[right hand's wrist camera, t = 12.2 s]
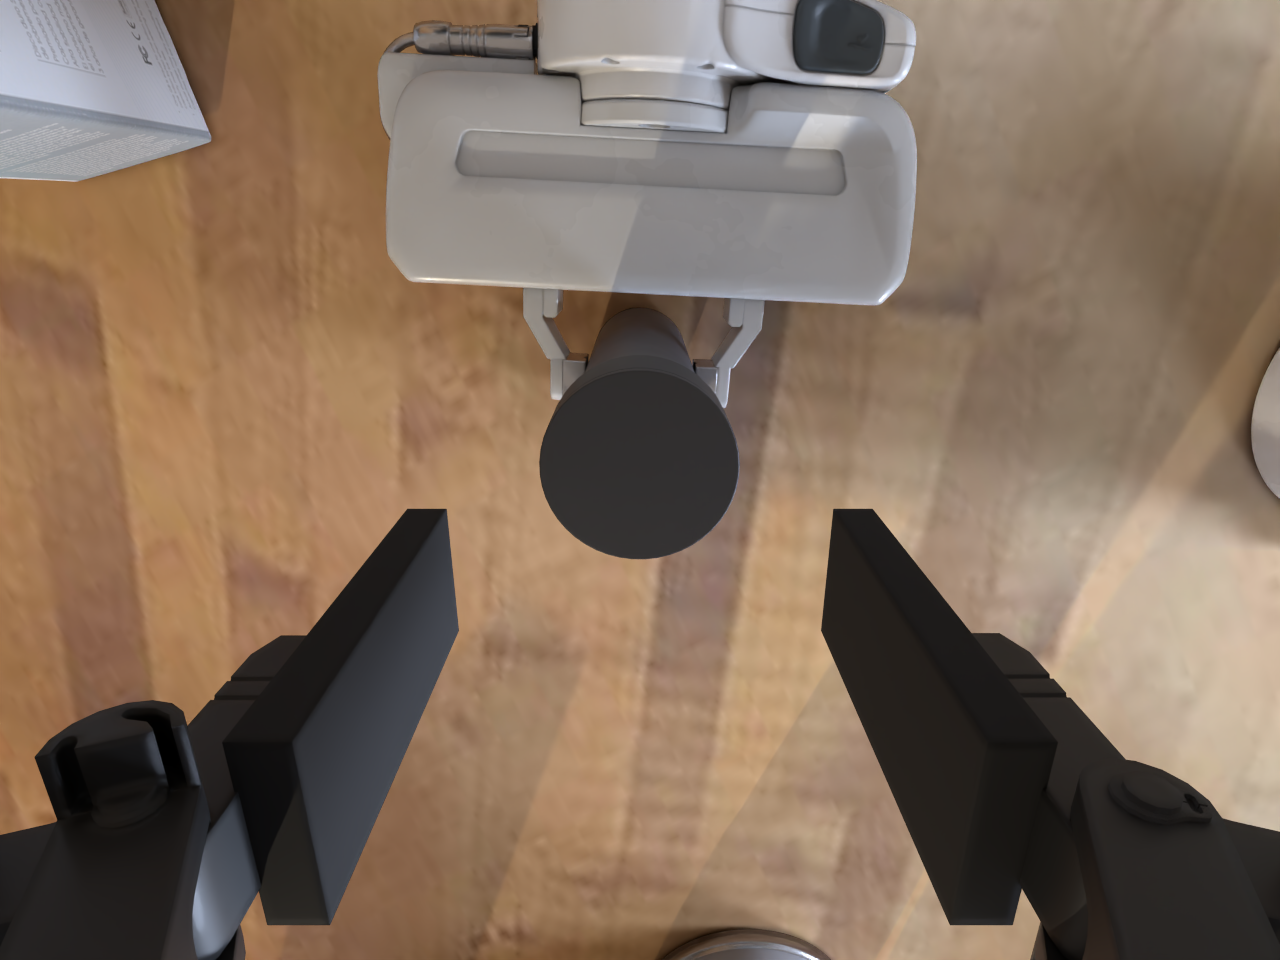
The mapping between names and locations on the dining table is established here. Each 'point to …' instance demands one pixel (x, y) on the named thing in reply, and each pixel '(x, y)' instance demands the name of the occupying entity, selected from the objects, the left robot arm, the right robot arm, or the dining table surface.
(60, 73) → the hard drive box
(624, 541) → the lid
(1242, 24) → the dining table surface
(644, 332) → the dark grey cylinder
